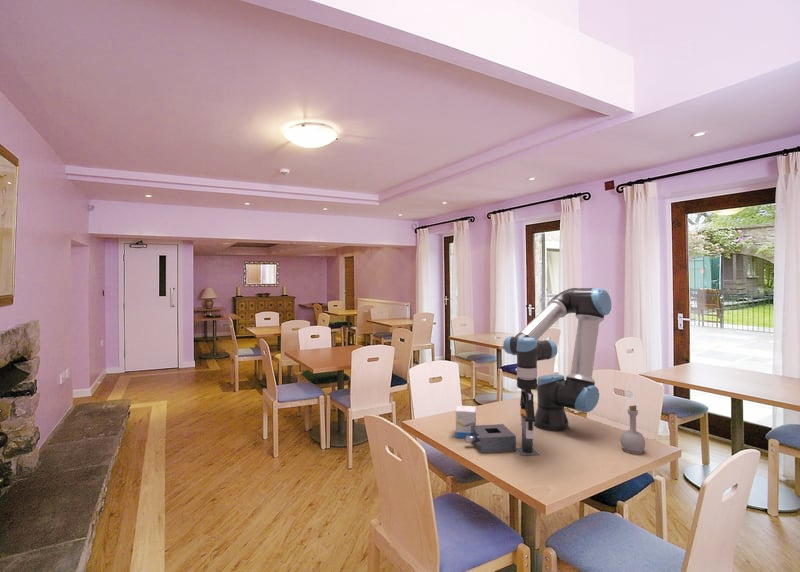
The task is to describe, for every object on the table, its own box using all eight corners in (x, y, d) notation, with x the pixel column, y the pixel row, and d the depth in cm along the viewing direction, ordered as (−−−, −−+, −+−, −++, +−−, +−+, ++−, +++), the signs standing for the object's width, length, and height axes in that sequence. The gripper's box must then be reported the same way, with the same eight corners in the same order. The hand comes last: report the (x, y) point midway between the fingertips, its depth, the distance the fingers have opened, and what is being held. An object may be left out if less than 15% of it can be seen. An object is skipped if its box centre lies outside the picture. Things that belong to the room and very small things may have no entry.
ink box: (475, 439, 180) (475, 411, 180) (455, 438, 182) (455, 410, 182) (476, 432, 189) (476, 405, 189) (457, 430, 191) (456, 404, 190)
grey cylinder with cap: (519, 448, 169) (519, 408, 169) (533, 448, 169) (532, 408, 169) (521, 453, 164) (521, 412, 164) (535, 453, 164) (535, 412, 163)
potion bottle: (636, 456, 161) (636, 409, 161) (615, 448, 169) (615, 403, 169) (651, 452, 165) (650, 406, 165) (629, 444, 173) (629, 400, 173)
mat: (532, 448, 170) (532, 447, 170) (539, 455, 163) (539, 454, 163) (515, 449, 170) (515, 448, 170) (522, 456, 163) (522, 455, 163)
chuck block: (503, 438, 181) (503, 424, 181) (516, 451, 167) (515, 435, 167) (461, 440, 179) (461, 426, 179) (471, 453, 165) (471, 438, 165)
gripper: (513, 370, 179) (513, 421, 179) (521, 385, 154) (521, 443, 155) (531, 371, 178) (531, 421, 178) (543, 385, 153) (543, 444, 154)
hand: (527, 431), depth 166 cm, fingers open, 13 cm apart
